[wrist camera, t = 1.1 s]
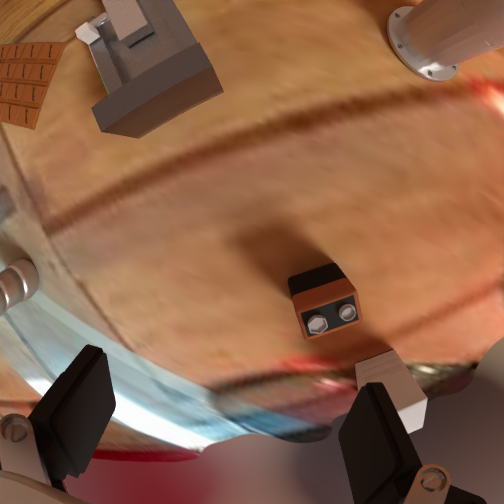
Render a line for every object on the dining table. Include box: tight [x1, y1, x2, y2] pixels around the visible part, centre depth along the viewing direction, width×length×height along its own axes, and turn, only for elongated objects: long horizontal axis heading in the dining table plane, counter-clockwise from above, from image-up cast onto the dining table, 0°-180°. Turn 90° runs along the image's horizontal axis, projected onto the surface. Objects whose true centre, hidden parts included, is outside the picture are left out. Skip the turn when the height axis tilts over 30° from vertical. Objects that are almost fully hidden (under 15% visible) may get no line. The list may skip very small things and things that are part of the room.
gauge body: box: [82, 0, 224, 139], centre depth 25 cm, size 12×20×10 cm, turn 26°
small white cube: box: [75, 22, 100, 44], centre depth 24 cm, size 2×2×3 cm
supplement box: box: [355, 350, 427, 433], centre depth 37 cm, size 7×7×13 cm
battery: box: [288, 263, 362, 340], centre depth 34 cm, size 4×7×10 cm, turn 110°
